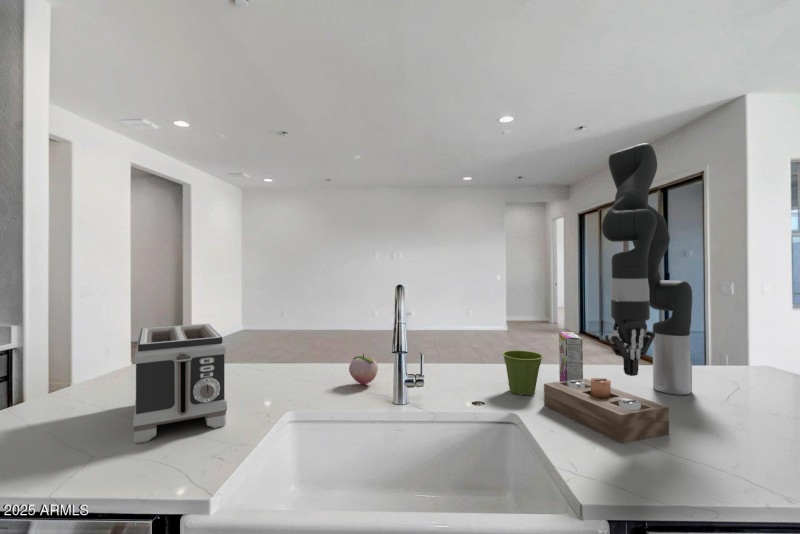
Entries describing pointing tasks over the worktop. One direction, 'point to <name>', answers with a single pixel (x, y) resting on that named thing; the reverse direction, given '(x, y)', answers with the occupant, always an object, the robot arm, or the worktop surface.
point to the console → (608, 412)
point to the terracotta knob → (600, 387)
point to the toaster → (178, 378)
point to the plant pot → (522, 370)
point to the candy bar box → (570, 356)
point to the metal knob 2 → (629, 404)
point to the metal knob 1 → (575, 384)
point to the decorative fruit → (363, 369)
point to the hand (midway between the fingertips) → (631, 374)
